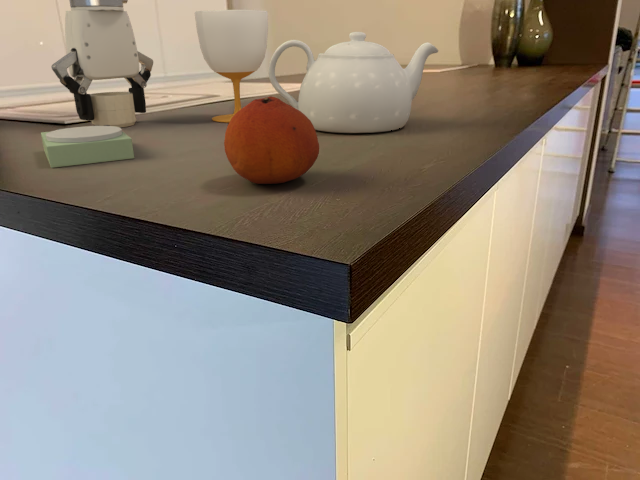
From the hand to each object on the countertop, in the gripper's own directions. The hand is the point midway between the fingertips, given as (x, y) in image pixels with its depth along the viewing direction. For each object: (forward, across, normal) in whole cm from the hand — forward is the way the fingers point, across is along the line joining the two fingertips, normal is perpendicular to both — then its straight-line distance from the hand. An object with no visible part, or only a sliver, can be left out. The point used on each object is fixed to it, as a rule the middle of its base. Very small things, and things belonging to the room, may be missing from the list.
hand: (114, 115), depth 88 cm
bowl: (+1, 0, 0) cm, 1 cm away
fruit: (+2, +14, +46) cm, 48 cm away
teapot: (+2, -19, +34) cm, 39 cm away
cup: (+2, -16, +13) cm, 20 cm away
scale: (+2, +16, +18) cm, 24 cm away
